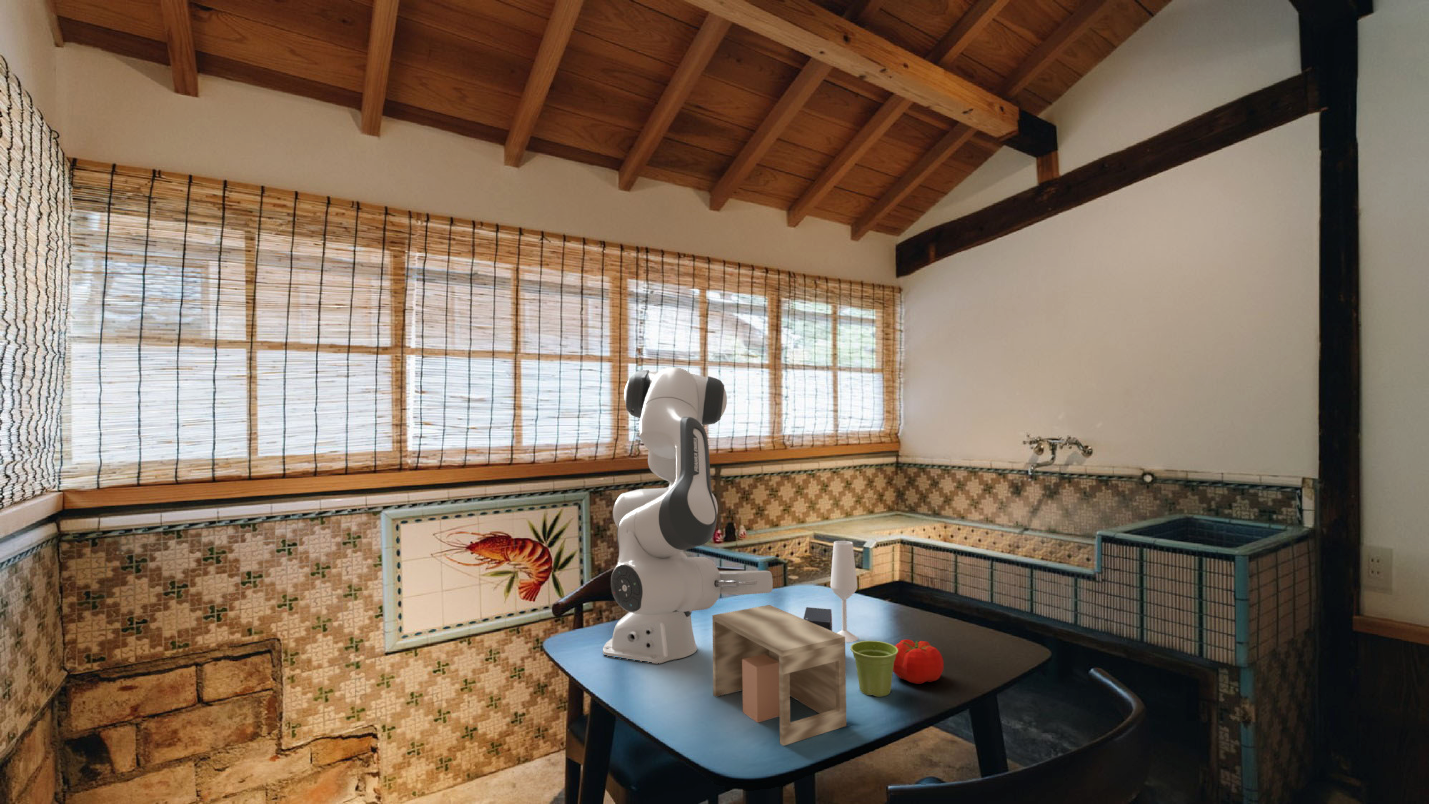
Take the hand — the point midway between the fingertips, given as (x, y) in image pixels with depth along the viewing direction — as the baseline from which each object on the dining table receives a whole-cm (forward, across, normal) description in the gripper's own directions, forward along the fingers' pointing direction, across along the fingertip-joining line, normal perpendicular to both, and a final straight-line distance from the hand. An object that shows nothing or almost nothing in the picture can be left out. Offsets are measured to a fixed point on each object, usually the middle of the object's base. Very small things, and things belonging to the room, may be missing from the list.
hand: (747, 580), depth 122 cm
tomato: (+42, -12, +22) cm, 48 cm away
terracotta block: (+7, +3, +25) cm, 26 cm away
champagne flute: (+54, +13, +16) cm, 58 cm away
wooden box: (+10, +2, +24) cm, 26 cm away
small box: (+37, +10, +19) cm, 43 cm away
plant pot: (+30, -8, +23) cm, 39 cm away
